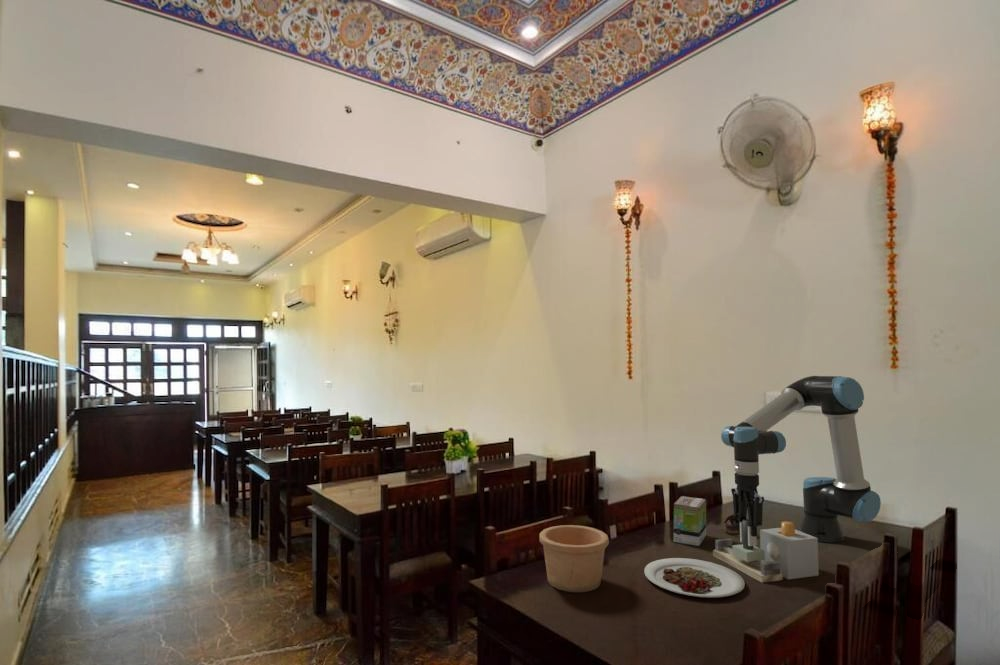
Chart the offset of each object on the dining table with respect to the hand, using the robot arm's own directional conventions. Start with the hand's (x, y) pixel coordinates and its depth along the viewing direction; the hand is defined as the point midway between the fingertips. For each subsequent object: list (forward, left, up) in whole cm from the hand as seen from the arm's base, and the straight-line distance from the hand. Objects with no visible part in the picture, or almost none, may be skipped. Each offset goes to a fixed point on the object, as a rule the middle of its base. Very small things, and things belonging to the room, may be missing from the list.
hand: (748, 543), depth 181 cm
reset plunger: (-12, +5, -1) cm, 13 cm away
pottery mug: (-22, -33, -9) cm, 41 cm away
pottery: (+61, -5, -9) cm, 62 cm away
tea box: (+1, -31, -9) cm, 33 cm away
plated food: (+24, +4, -9) cm, 26 cm away
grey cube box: (-12, +5, -8) cm, 15 cm away
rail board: (0, -1, -8) cm, 8 cm away
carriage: (0, 0, -5) cm, 5 cm away
